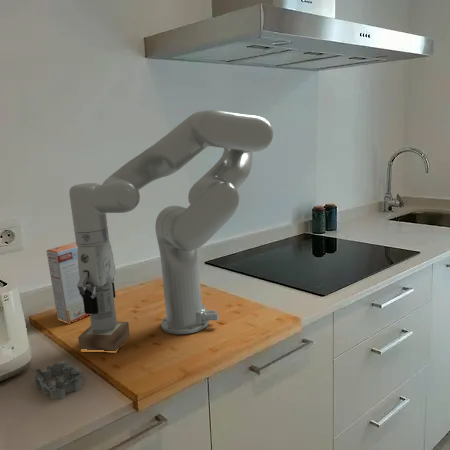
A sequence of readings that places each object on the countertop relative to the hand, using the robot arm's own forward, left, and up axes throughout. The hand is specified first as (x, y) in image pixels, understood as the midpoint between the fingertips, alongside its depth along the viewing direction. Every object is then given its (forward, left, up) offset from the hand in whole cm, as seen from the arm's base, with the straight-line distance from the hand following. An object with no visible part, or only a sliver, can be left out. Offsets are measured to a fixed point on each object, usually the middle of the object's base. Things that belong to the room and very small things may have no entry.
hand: (100, 305), depth 115 cm
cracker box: (+15, -18, -10) cm, 26 cm away
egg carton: (+2, +19, -11) cm, 22 cm away
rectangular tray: (0, 0, -10) cm, 10 cm away
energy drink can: (0, 0, -6) cm, 6 cm away
